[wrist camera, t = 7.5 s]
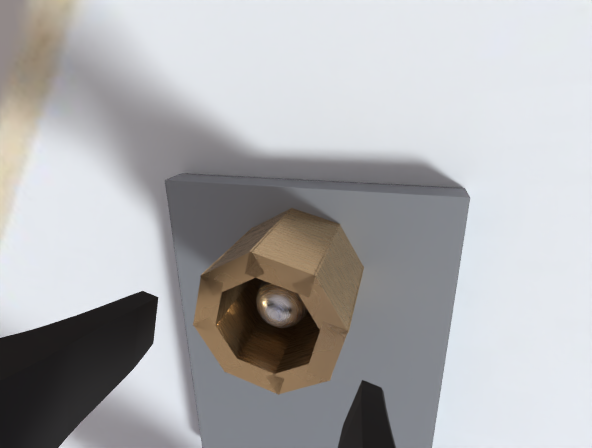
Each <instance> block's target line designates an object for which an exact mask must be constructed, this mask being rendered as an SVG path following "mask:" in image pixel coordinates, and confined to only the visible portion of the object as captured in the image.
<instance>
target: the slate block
mask: <svg viewBox="0 0 592 448" xmlns="http://www.w3.org/2000/svg"><path fill="white" fill-rule="evenodd" d="M165 184H166V192H167V199H168V206H169V213H170V220H171V227H172V234H173V241H174V249H175V256H176V263H177V270H178V277H179V284H180V291H181V298H182V306H183V313H184V320H185V327H186V334H187V341H188V348H189V355H190V363H191V370H192V377H193V384H194V391H195V398H196V405H197V413H198V420H199V427H200V434H201V441H202V448H338V444H339V440H340V435H341V431H342V427H343V424H344V421H345V419H346V417H347V414H348V412H349V410H350V407H351V405H352V402H353V400H354V398H355V395H356V393H357V391H358V388H359V386H360V384H361V381H362V380H364V381H367V382H369V383H372V384H374V385H377V386H379V387H381V388H382V390H383V392H384V397H385V403H386V408H387V413H388V418H389V422H390V426H391V430H392V434H393V438H394V442H395V445H396V448H432V443H433V436H434V430H435V423H436V417H437V410H438V404H439V397H440V391H441V384H442V378H443V371H444V365H445V358H446V352H447V345H448V339H449V332H450V326H451V319H452V313H453V306H454V300H455V293H456V287H457V280H458V273H459V267H460V260H461V254H462V247H463V241H464V234H465V228H466V221H467V215H468V208H469V202H470V197H469V195H468V193H467V191H466V189H465V188H449V187H429V186H410V185H390V184H371V183H352V182H332V181H313V180H294V179H274V178H255V177H236V176H216V175H197V174H179V175H177V176H174V177H172V178H169V179H167V180H165ZM290 208H294V209H297V210H300V211H303V212H306V213H309V214H312V215H315V216H318V217H321V218H324V219H327V220H330V221H333V222H336V223H338V224H339V223H340V224H341V227H342V229H343V230H344V232H345V234H346V236H347V238H348V239H349V241H350V243H351V245H352V247H353V248H354V250H355V252H356V254H357V256H358V257H359V259H360V261H361V263H362V265H363V266H364V270H363V275H362V279H361V283H360V287H359V291H358V295H357V300H356V304H355V308H354V312H353V316H352V321H351V325H350V329H349V333H347V336H346V339H345V341H344V344H343V347H342V349H341V352H340V354H339V357H338V360H337V362H336V365H335V368H334V370H333V373H332V377H331V380H330V381H327V382H323V383H319V384H315V385H312V386H308V387H304V388H300V389H297V390H293V391H289V392H286V393H282V394H279V395H277V394H276V393H274V392H271V391H269V390H267V389H264V388H262V387H260V386H257V385H255V384H253V383H250V382H248V381H245V380H243V379H241V378H238V377H236V376H234V375H231V374H229V373H227V372H224V370H223V369H222V367H221V366H220V364H219V363H218V361H217V360H216V358H215V357H214V355H213V354H212V352H211V351H210V349H209V348H208V346H207V345H206V343H205V342H204V340H203V339H202V337H201V336H200V334H199V333H198V331H197V330H196V328H195V327H194V326H193V322H194V316H195V310H196V303H197V297H198V291H199V285H200V278H201V276H200V275H201V274H202V273H203V272H204V271H205V270H207V269H208V268H209V267H210V266H211V265H212V264H213V263H214V262H215V261H216V260H217V259H218V258H220V257H221V256H222V255H223V254H224V253H225V252H226V251H227V250H228V249H229V248H230V247H232V246H233V245H234V244H235V243H236V242H237V241H238V240H239V239H240V238H241V237H242V236H244V235H245V234H246V233H247V232H248V231H249V230H250V229H251V228H252V227H255V226H257V225H259V224H261V223H263V222H265V221H267V220H269V219H271V218H273V217H275V216H277V215H279V214H281V213H283V212H285V211H287V210H289V209H290Z"/></svg>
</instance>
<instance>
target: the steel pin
mask: <svg viewBox="0 0 592 448" xmlns="http://www.w3.org/2000/svg"><path fill="white" fill-rule="evenodd" d="M256 304H257V309H258V312H259V314H260V316H261V317H262V318H263V319H264V320H265V321H266V322H267V323H268V324H270V325H272V326H274V327H278V328H287V327H291V326H294V325H296V324H297V323H299V322H300V321H301V320H302V319H303V318H304V317H305V315H306V313H307V311H308V310H307V308H306V306H305V305H304V303H303V301H302V300H301V298H300V296H299V295H298V293H295V292H293V291H290V290H287V289H285V288H282V287H279V286H277V285H274V284H271V283H269V282H266V281H264V282H263V283H262V285H261V286H260V288H259V290H258V293H257V297H256Z"/></svg>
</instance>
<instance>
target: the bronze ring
mask: <svg viewBox="0 0 592 448" xmlns="http://www.w3.org/2000/svg"><path fill="white" fill-rule="evenodd" d="M363 270H364V266H363V265H362V263H361V261H360V259H359V257H358V256H357V254H356V252H355V250H354V248H353V247H352V245H351V243H350V241H349V239H348V238H347V236H346V234H345V232H344V230H343V229H342V227H341V224H340V223H339V224H338V223H336V222H333V221H330V220H327V219H324V218H321V217H318V216H315V215H312V214H309V213H306V212H303V211H300V210H297V209H294V208H290V209H289V210H287V211H285V212H283V213H281V214H279V215H277V216H275V217H273V218H271V219H269V220H267V221H265V222H263V223H261V224H259V225H257V226H255V227H252V228H251V229H250V230H249V231H248V232H247V233H246V234H245V235H244V236H242V237H241V238H240V239H239V240H238V241H237V242H236V243H235V244H234V245H233V246H232V247H230V248H229V249H228V250H227V251H226V252H225V253H224V254H223V255H222V256H221V257H220V258H218V259H217V260H216V261H215V262H214V263H213V264H212V265H211V266H210V267H209V268H208V269H207V270H205V271H204V272H203V273H202V274H201V275H200V276H201V278H200V285H199V291H198V297H197V303H196V310H195V316H194V322H193V326H194V327H195V328H196V330H197V331H198V333H199V334H200V336H201V337H202V339H203V340H204V342H205V343H206V345H207V346H208V348H209V349H210V351H211V352H212V354H213V355H214V357H215V358H216V360H217V361H218V363H219V364H220V366H221V367H222V369H223V370H224V372H227V373H229V374H231V375H234V376H236V377H238V378H241V379H243V380H245V381H248V382H250V383H253V384H255V385H257V386H260V387H262V388H264V389H267V390H269V391H271V392H274V393H276V394H277V395H279V394H282V393H286V392H289V391H293V390H297V389H300V388H304V387H308V386H312V385H315V384H319V383H323V382H327V381H330V380H331V377H332V373H333V370H334V368H335V365H336V362H337V360H338V357H339V354H340V352H341V349H342V347H343V344H344V341H345V339H346V336H347V333H349V329H350V325H351V321H352V316H353V312H354V308H355V304H356V300H357V295H358V291H359V287H360V283H361V279H362V275H363ZM264 281H266V282H269V283H271V284H274V285H277V286H279V287H282V288H285V289H287V290H290V291H293V292H295V293H298V295H299V296H300V298H301V300H302V301H303V303H304V305H305V306H306V308H307V310H308V311H307V313H306V315H305V317H304V318H303V319H302V320H301V321H300V322H299V323H297V324H296V325H294V326H291V327H287V328H278V327H274V326H272V325H270V324H268V323H267V322H266V321H265V320H264V319H263V318H262V317H261V316H260V314H259V312H258V309H257V304H256V297H257V293H258V290H259V288H260V286H261V285H262V283H263V282H264Z"/></svg>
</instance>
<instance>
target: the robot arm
mask: <svg viewBox="0 0 592 448" xmlns="http://www.w3.org/2000/svg"><path fill="white" fill-rule="evenodd" d="M157 304H158V297H156V296H154V295H151V294H149V293H146V292H144V291H141V292H139V293H136V294H133V295H130V296H127V297H125V298H122V299H120V300H117V301H114V302H112V303H109V304H106V305H104V306H101V307H98V308H96V309H93V310H90V311H87V312H85V313H82V314H79V315H77V316H73V317H70V318H67V319H64V320H61V321H58V322H55V323H52V324H49V325H46V326H43V327H40V328H36V329H33V330H29V331H26V332H22V333H18V334H14V335H10V336H6V337H2V338H0V448H58V447H59V446H60V445H61V444H62V443H63V441H64V440H65V439H66V438H67V437H68V435H69V434H70V433H71V432H72V431H73V430H74V429H75V428H76V427H77V426H78V425H79V424H80V422H81V421H82V420H83V419H84V418H85V417H86V416H87V415H88V414H89V413H90V412H91V411H92V410H93V409H94V408H95V407H96V406H97V405H98V404H99V403H100V402H101V401H102V400H103V399H104V398H105V397H106V396H107V395H108V394H109V393H110V392H111V391H112V390H113V389H114V388H115V387H116V386H117V385H118V384H119V383H120V382H121V381H122V380H123V379H124V378H125V377H126V376H127V375H128V374H129V373H130V372H131V371H132V370H133V369H134V367H135V366H136V365H137V364H138V362H139V361H140V360H141V359H142V357H143V356H144V355H145V353H146V352H147V351H148V350H149V348H150V347H151V346H152V344H153V340H154V331H155V322H156V313H157ZM338 448H396V445H395V442H394V438H393V434H392V430H391V426H390V422H389V418H388V413H387V408H386V403H385V397H384V392H383V390H382V388H381V387H379V386H377V385H374V384H372V383H369V382H367V381H364V380H362V381H361V384H360V386H359V388H358V391H357V393H356V395H355V398H354V400H353V402H352V405H351V407H350V410H349V412H348V414H347V417H346V419H345V421H344V424H343V427H342V431H341V435H340V440H339V444H338Z"/></svg>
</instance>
